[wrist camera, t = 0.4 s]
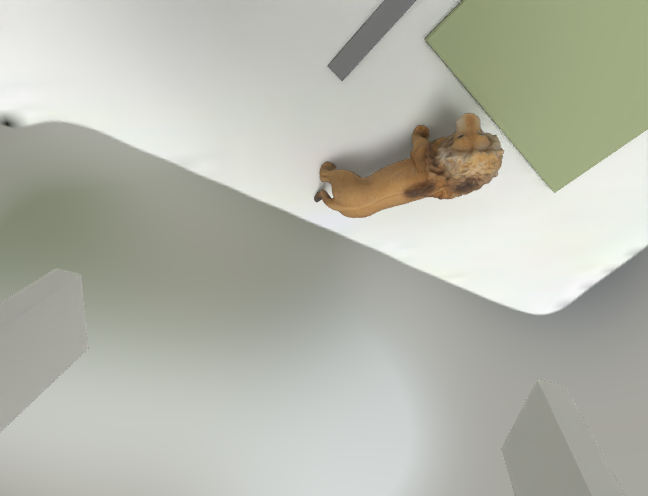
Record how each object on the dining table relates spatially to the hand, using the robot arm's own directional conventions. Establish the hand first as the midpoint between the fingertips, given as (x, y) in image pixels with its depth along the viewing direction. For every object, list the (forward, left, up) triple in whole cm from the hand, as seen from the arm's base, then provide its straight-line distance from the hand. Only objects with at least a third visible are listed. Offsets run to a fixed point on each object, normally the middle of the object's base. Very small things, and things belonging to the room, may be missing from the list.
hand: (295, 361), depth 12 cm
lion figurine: (-1, +5, -25) cm, 25 cm away
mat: (-16, +8, -25) cm, 31 cm away
